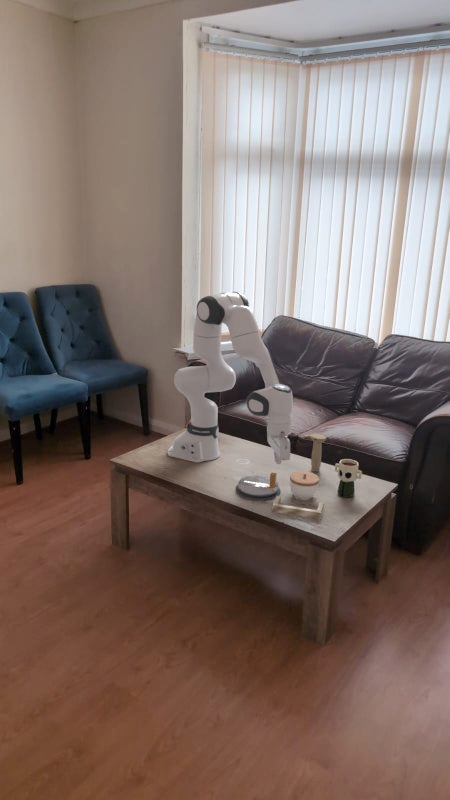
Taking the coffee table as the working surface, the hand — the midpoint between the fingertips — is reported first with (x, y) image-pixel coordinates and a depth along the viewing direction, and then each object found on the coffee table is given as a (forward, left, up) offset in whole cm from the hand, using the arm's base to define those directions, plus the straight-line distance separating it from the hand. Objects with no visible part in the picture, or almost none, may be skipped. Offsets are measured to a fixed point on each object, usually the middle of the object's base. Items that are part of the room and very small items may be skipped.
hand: (277, 462), depth 233 cm
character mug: (+26, +3, -10) cm, 28 cm away
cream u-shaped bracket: (+11, -16, -10) cm, 22 cm away
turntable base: (-6, -5, -10) cm, 13 cm away
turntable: (-6, -5, -10) cm, 13 cm away
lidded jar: (+11, -4, -10) cm, 16 cm away
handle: (+12, +21, -10) cm, 26 cm away
